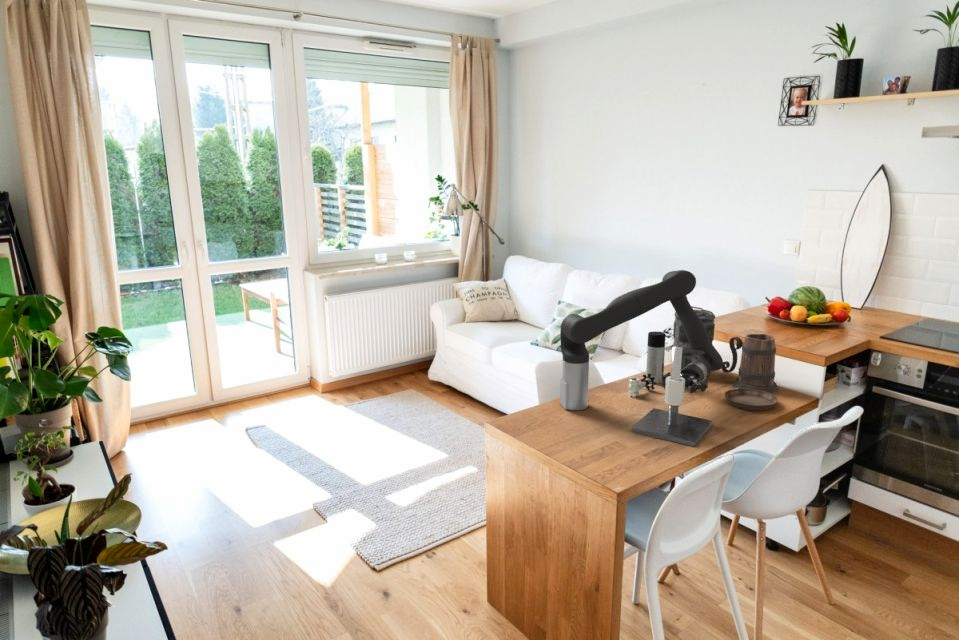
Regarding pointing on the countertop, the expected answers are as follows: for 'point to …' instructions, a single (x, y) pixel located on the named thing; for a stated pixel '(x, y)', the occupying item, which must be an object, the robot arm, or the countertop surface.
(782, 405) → the countertop surface
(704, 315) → the canister
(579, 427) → the countertop surface
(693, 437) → the pipe stand
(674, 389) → the sleeve
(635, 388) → the valve
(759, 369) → the tankard
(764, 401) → the plant saucer
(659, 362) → the spray can
